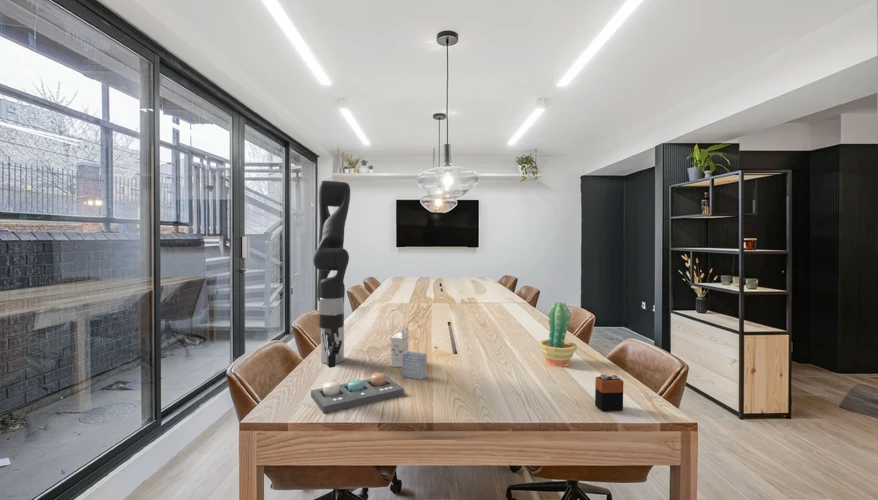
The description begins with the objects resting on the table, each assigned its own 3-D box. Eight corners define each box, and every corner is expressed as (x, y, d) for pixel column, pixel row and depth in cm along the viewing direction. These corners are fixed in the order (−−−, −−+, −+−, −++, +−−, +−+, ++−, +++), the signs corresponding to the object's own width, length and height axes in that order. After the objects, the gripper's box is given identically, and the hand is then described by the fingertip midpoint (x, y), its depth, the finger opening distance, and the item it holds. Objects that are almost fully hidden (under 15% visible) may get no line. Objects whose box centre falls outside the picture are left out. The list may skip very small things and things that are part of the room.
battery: (594, 405, 120) (595, 373, 119) (615, 405, 120) (616, 372, 120) (601, 412, 115) (602, 378, 115) (623, 411, 116) (624, 377, 116)
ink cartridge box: (397, 360, 163) (397, 325, 163) (408, 361, 162) (408, 325, 162) (390, 366, 155) (390, 329, 154) (402, 367, 154) (402, 330, 153)
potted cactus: (584, 364, 159) (586, 303, 158) (560, 371, 150) (561, 307, 150) (554, 355, 172) (555, 298, 171) (529, 361, 163) (530, 301, 162)
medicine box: (426, 376, 144) (427, 353, 144) (421, 380, 140) (421, 356, 140) (408, 373, 147) (408, 350, 147) (402, 377, 143) (402, 353, 143)
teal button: (345, 390, 128) (345, 381, 128) (360, 387, 131) (360, 378, 131) (350, 396, 124) (350, 386, 124) (365, 392, 127) (365, 383, 127)
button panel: (311, 396, 125) (311, 389, 125) (385, 381, 139) (385, 375, 139) (323, 413, 113) (323, 405, 113) (403, 394, 127) (404, 388, 127)
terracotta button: (368, 383, 133) (368, 374, 132) (382, 380, 135) (382, 372, 135) (374, 388, 128) (374, 379, 128) (388, 385, 131) (388, 376, 131)
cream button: (321, 392, 124) (321, 383, 124) (336, 389, 127) (336, 380, 127) (325, 398, 120) (325, 388, 120) (341, 395, 122) (341, 385, 122)
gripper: (313, 309, 126) (313, 363, 127) (325, 316, 115) (325, 375, 115) (336, 307, 130) (336, 359, 131) (350, 314, 119) (350, 370, 119)
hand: (331, 366), depth 123 cm, fingers closed
